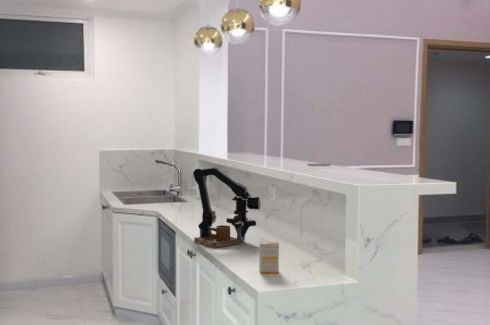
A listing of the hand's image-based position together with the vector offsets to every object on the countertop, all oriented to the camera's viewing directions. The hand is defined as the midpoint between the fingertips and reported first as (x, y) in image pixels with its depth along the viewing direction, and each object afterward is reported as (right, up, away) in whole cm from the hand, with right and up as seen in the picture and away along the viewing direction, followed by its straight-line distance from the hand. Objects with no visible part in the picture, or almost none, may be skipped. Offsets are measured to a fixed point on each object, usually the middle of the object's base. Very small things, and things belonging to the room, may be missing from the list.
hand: (240, 237), depth 306 cm
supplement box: (+13, -7, -63) cm, 64 cm away
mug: (-12, -3, -9) cm, 15 cm away
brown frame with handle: (-10, -2, -4) cm, 11 cm away
